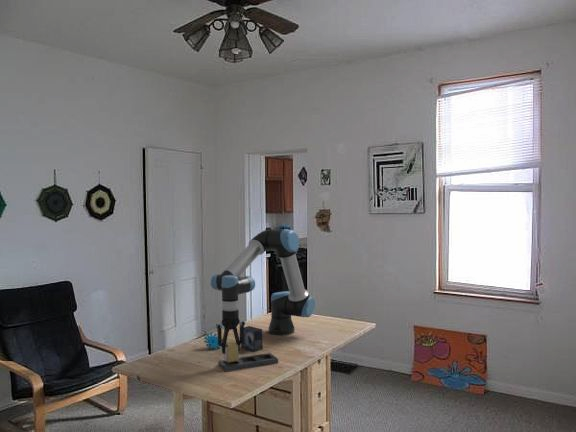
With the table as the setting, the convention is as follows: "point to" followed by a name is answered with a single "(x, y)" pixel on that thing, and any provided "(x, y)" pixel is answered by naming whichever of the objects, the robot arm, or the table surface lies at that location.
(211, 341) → the gear
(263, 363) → the grey flat frame
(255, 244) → the robot arm
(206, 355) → the table surface
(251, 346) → the small box
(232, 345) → the olive yellow block
